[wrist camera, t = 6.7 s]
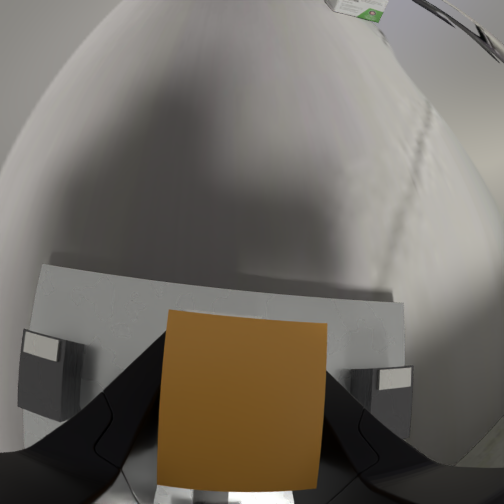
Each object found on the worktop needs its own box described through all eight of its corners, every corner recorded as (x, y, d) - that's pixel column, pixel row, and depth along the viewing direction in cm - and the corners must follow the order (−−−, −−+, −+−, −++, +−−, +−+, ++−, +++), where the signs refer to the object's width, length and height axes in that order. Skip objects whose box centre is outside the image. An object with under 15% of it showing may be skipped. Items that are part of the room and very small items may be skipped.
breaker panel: (381, 505, 13) (411, 522, 10) (35, 480, 10) (7, 496, 7) (394, 306, 18) (428, 292, 15) (49, 268, 16) (21, 247, 12)
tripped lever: (244, 412, 14) (316, 488, 4) (187, 407, 13) (156, 484, 4) (248, 350, 15) (327, 323, 5) (192, 345, 14) (168, 308, 5)
